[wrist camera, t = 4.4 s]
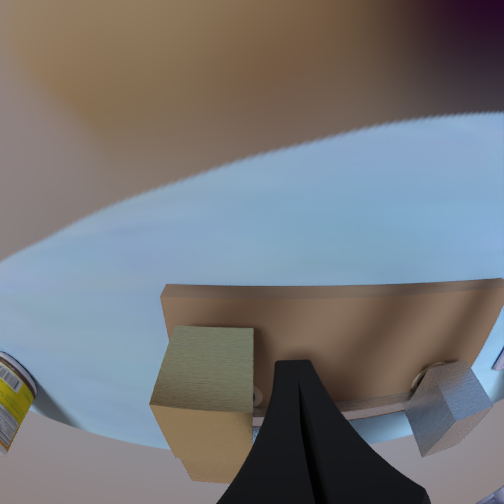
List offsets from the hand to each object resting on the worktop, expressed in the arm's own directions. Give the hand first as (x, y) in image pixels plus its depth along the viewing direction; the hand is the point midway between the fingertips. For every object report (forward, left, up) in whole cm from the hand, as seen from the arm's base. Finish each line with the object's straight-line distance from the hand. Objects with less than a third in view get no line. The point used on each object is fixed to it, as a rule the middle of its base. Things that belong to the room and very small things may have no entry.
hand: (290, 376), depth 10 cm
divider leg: (+3, +2, -2) cm, 4 cm away
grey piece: (-4, +4, -2) cm, 6 cm away
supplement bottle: (+22, +8, -3) cm, 24 cm away
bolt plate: (-4, +3, -3) cm, 6 cm away
